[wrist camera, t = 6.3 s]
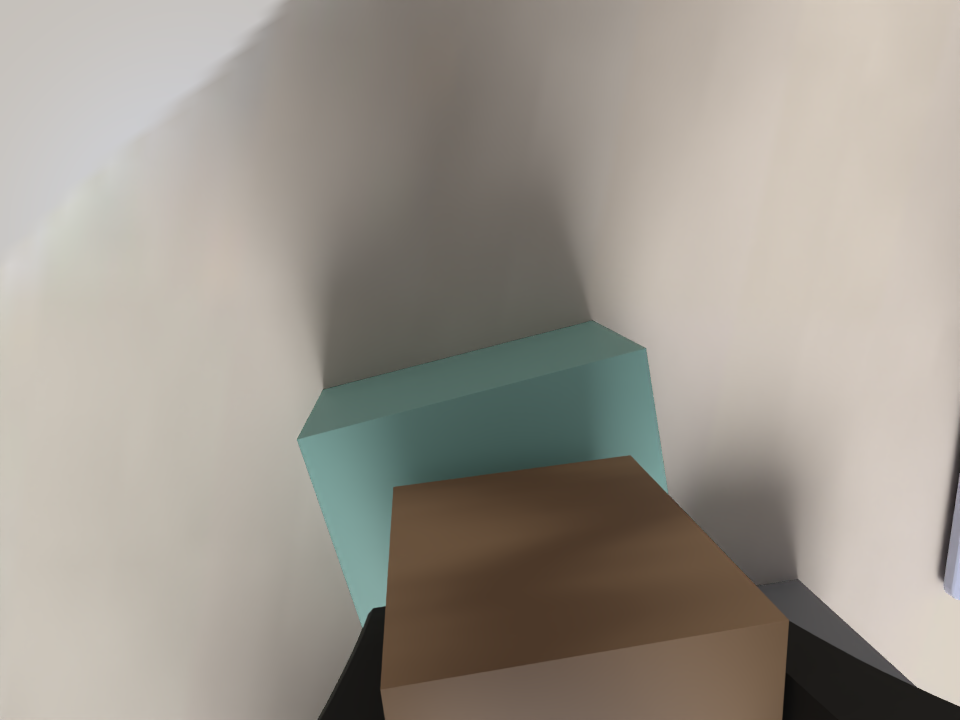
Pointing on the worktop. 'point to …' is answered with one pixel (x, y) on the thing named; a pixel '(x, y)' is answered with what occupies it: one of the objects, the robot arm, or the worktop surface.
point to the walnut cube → (570, 604)
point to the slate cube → (824, 623)
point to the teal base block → (471, 431)
